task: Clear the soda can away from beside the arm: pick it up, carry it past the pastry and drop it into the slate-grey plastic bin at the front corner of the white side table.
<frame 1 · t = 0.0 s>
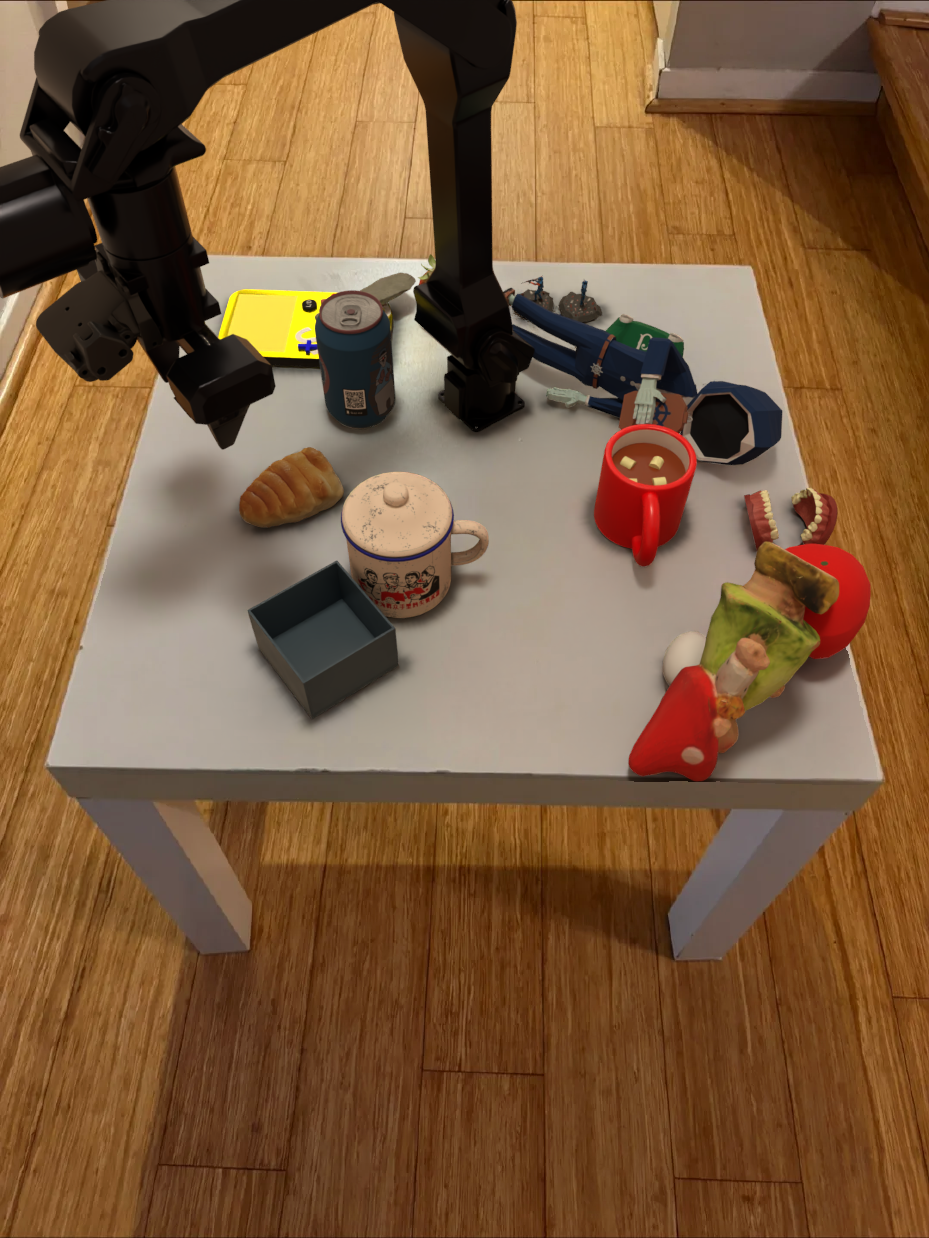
hand: (198, 412, 77), 15 cm above the table, tool pointing down, fingers open, 9 cm apart
pastry: (296, 501, 91), on the table
soda can: (361, 411, 98), on the table
teacup with lid: (418, 580, 86), on the table
mug: (638, 534, 89), on the table
dentures: (740, 514, 88), point 2 cm above the table
figurine: (816, 561, 71), point 13 cm above the table, touching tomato
stone: (374, 307, 102), point 3 cm above the table, touching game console
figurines: (556, 308, 107), on the table
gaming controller: (636, 368, 102), on the table
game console: (308, 334, 104), on the table, touching stone
figurine 2: (496, 307, 97), point 7 cm above the table
egg: (682, 675, 81), on the table
fruit: (444, 324, 105), on the table
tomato: (815, 558, 77), point 8 cm above the table, touching figurine
bin: (328, 656, 81), on the table
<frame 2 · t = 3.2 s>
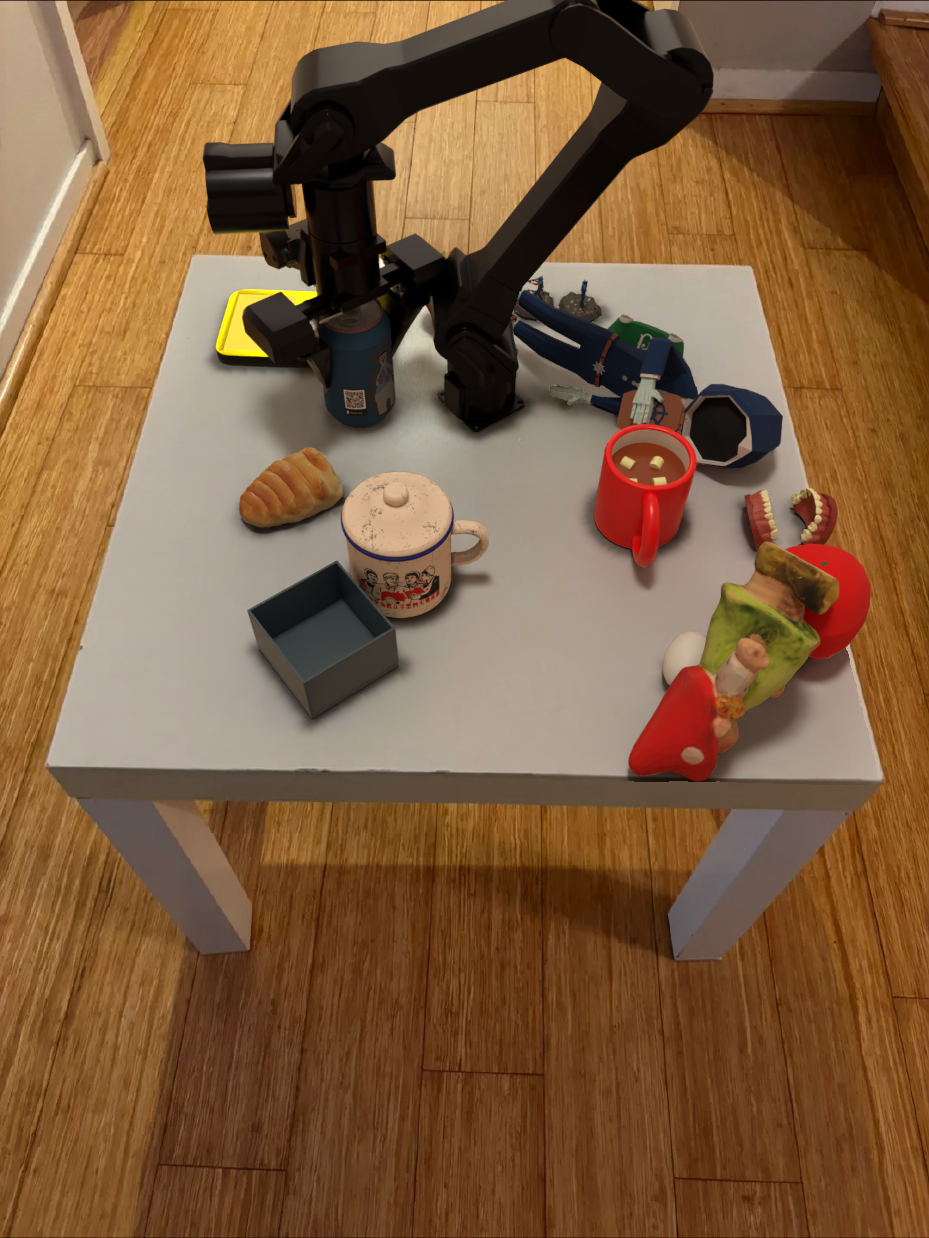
hand: (357, 370, 94), 5 cm above the table, tool pointing down, fingers closed on soda can, 7 cm apart
soda can: (361, 411, 98), on the table, touching gripper
figurine 2: (502, 302, 97), point 7 cm above the table, touching arm
everything else where it was.
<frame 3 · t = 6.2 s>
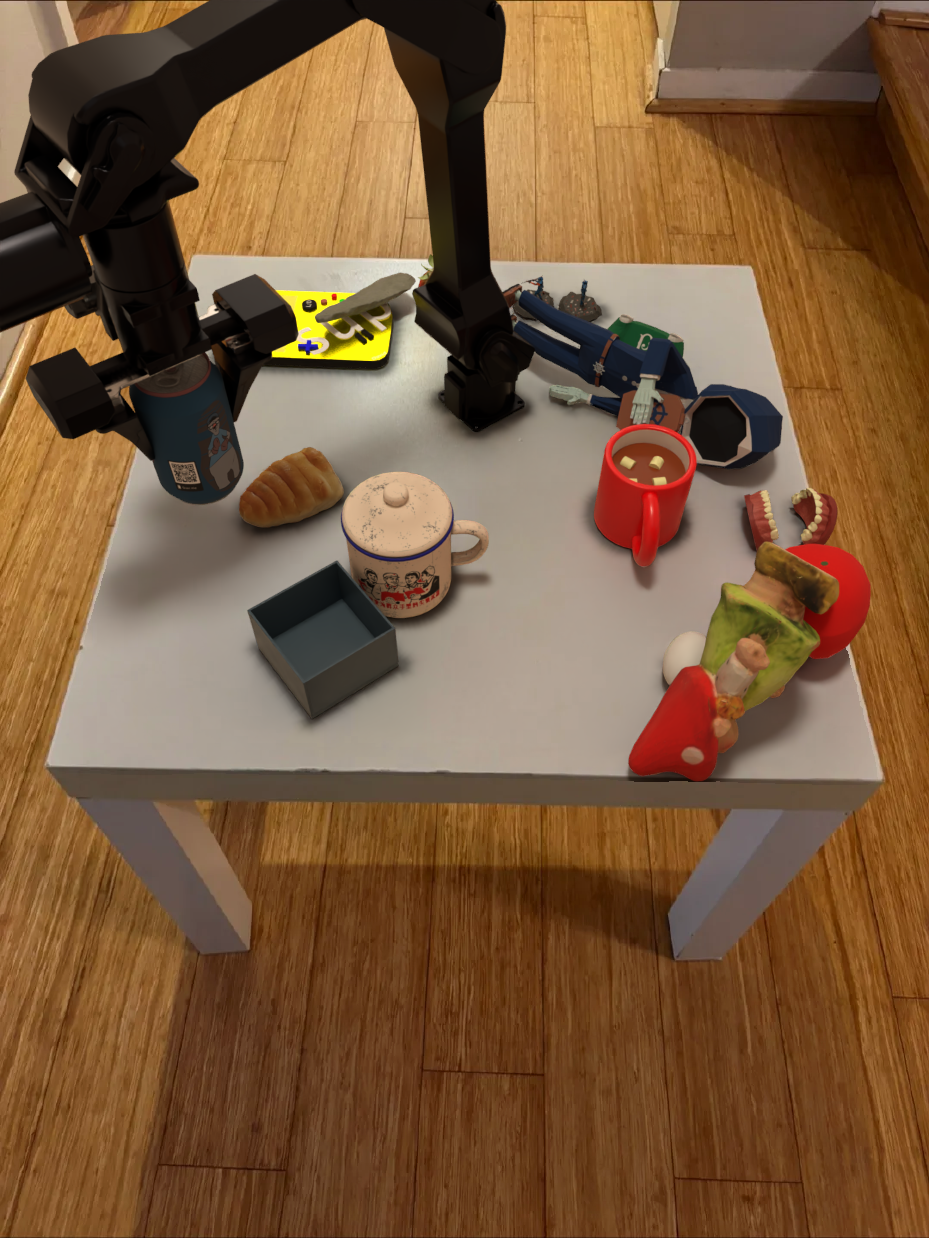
hand: (192, 437, 77), 13 cm above the table, tool pointing down, fingers closed on soda can, 7 cm apart
soda can: (205, 481, 82), point 8 cm above the table, touching gripper
figurine 2: (502, 302, 97), point 7 cm above the table
everything else where it was.
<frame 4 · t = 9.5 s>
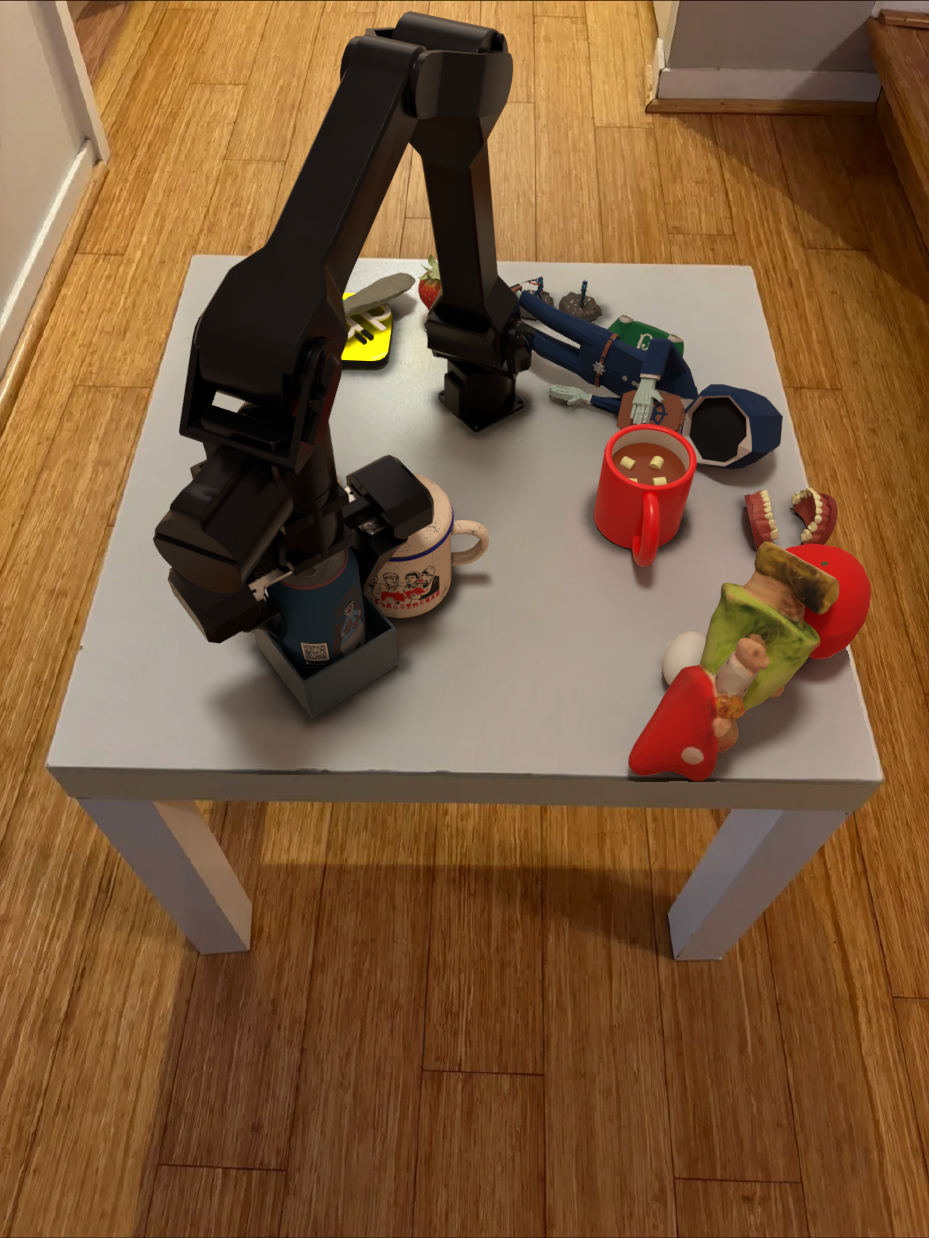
hand: (319, 611, 76), 6 cm above the table, tool pointing down, fingers closed on soda can, 7 cm apart
soda can: (326, 647, 80), point 1 cm above the table, touching gripper
everything else where it was.
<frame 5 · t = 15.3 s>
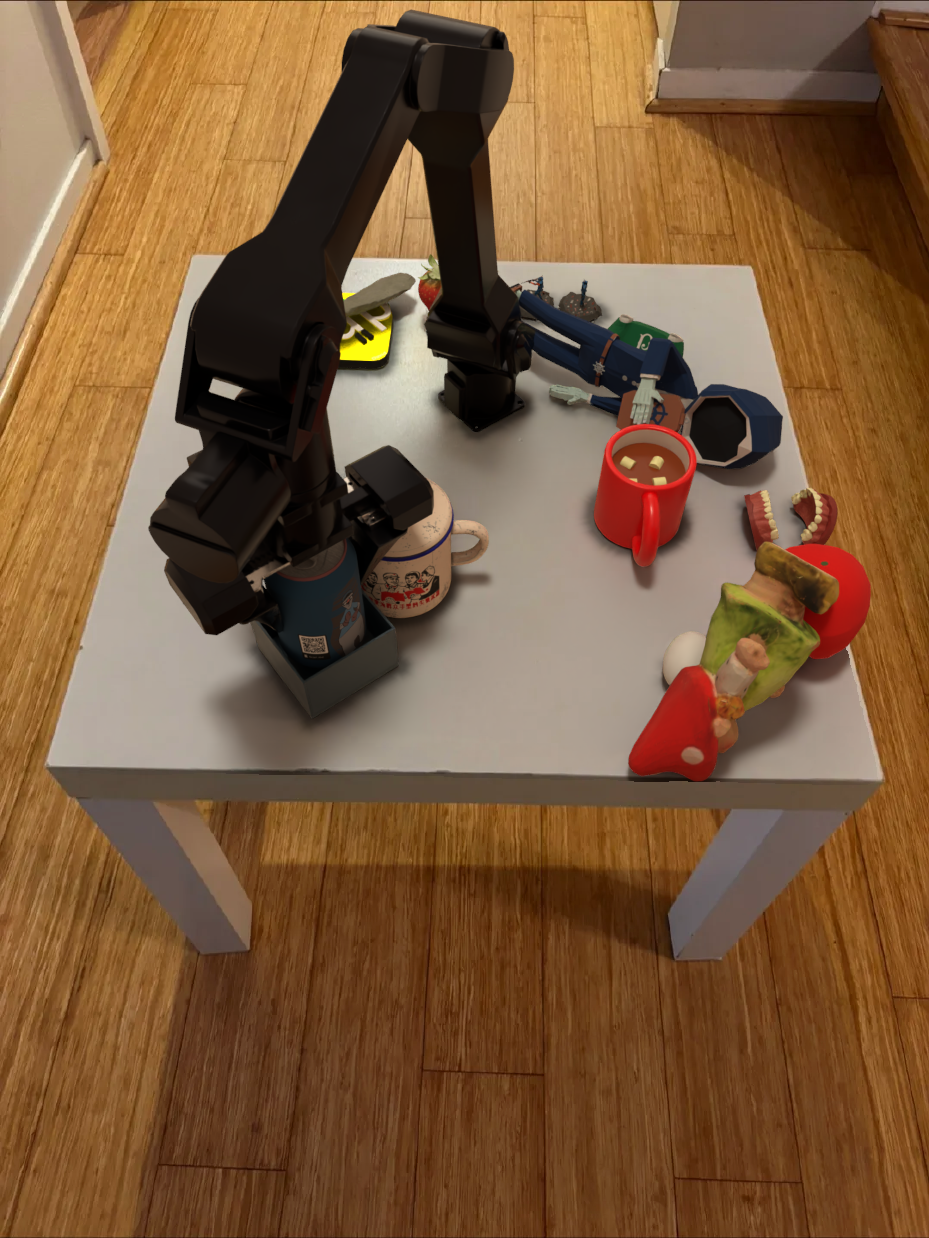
hand: (318, 604, 75), 7 cm above the table, tool pointing down, fingers closed on soda can, 7 cm apart
soda can: (325, 640, 79), point 2 cm above the table, touching gripper
everything else where it was.
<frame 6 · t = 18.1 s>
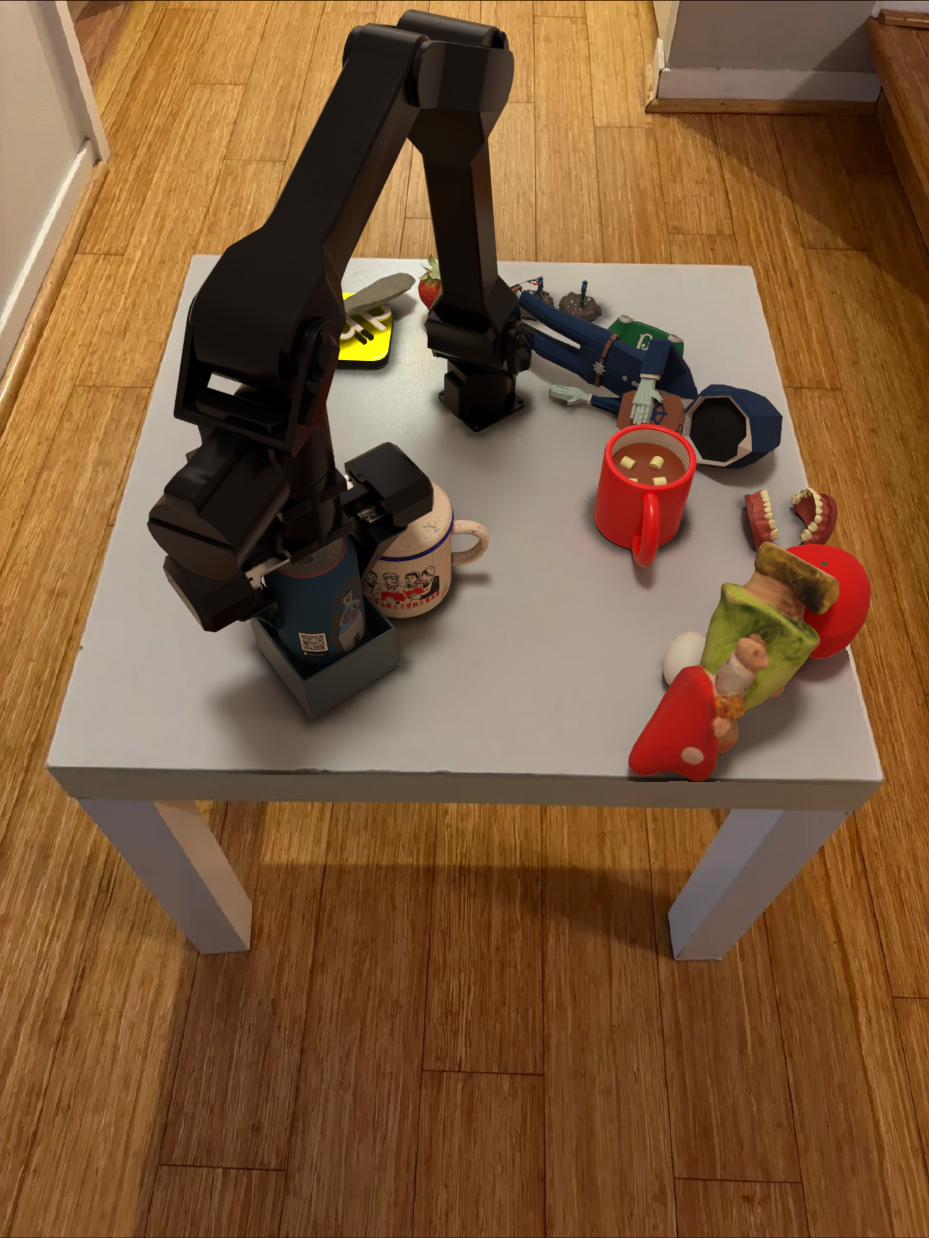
hand: (317, 601, 75), 8 cm above the table, tool pointing down, fingers closed on soda can, 7 cm apart
soda can: (324, 638, 79), point 3 cm above the table, touching gripper
everything else where it was.
when the fingers open (8 cm above the table, at t = 20.7 s): soda can drops 2 cm, resting on bin.
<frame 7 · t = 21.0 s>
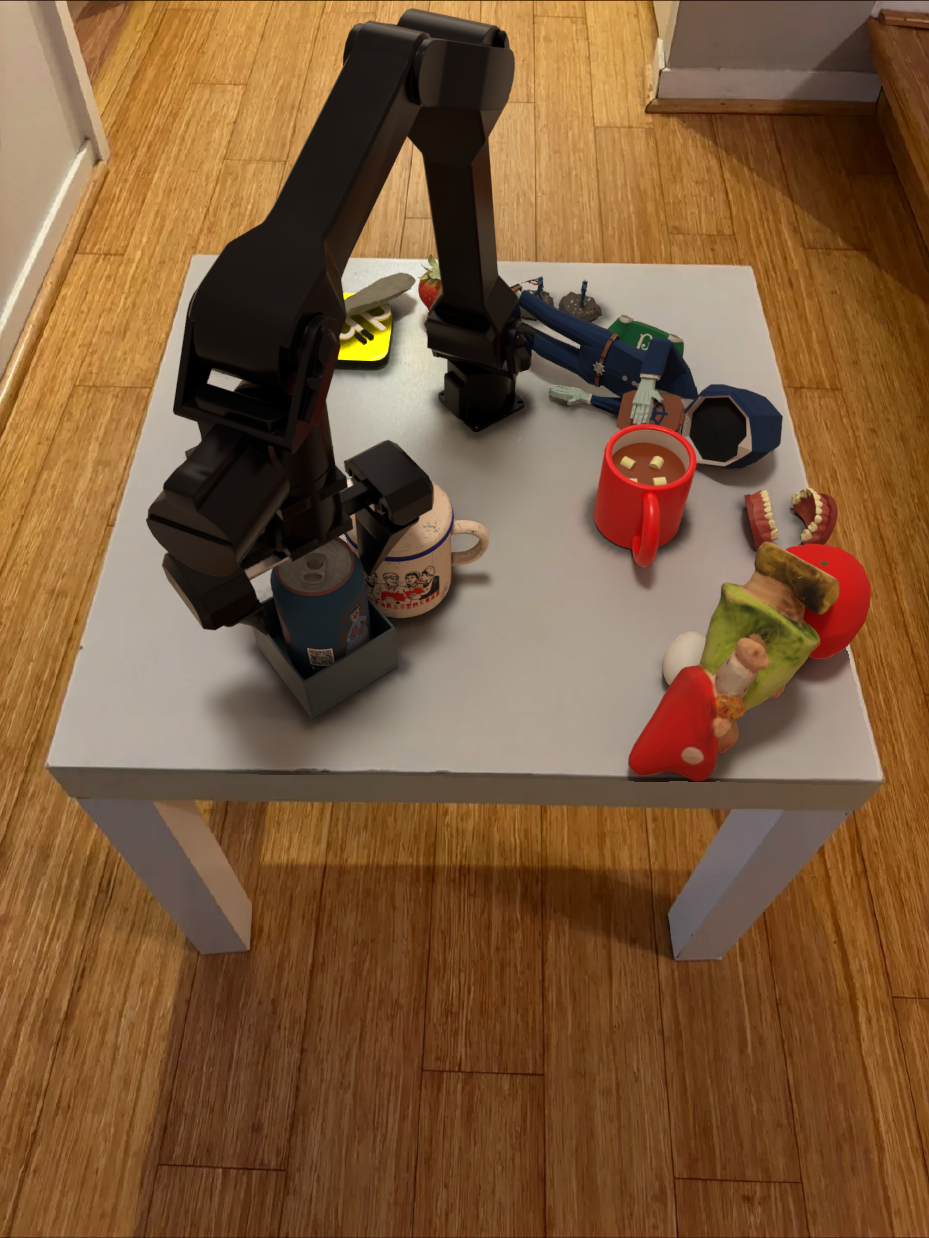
hand: (317, 600, 75), 8 cm above the table, tool pointing down, fingers open, 9 cm apart
soda can: (331, 652, 81), resting on bin
everything else where it was.
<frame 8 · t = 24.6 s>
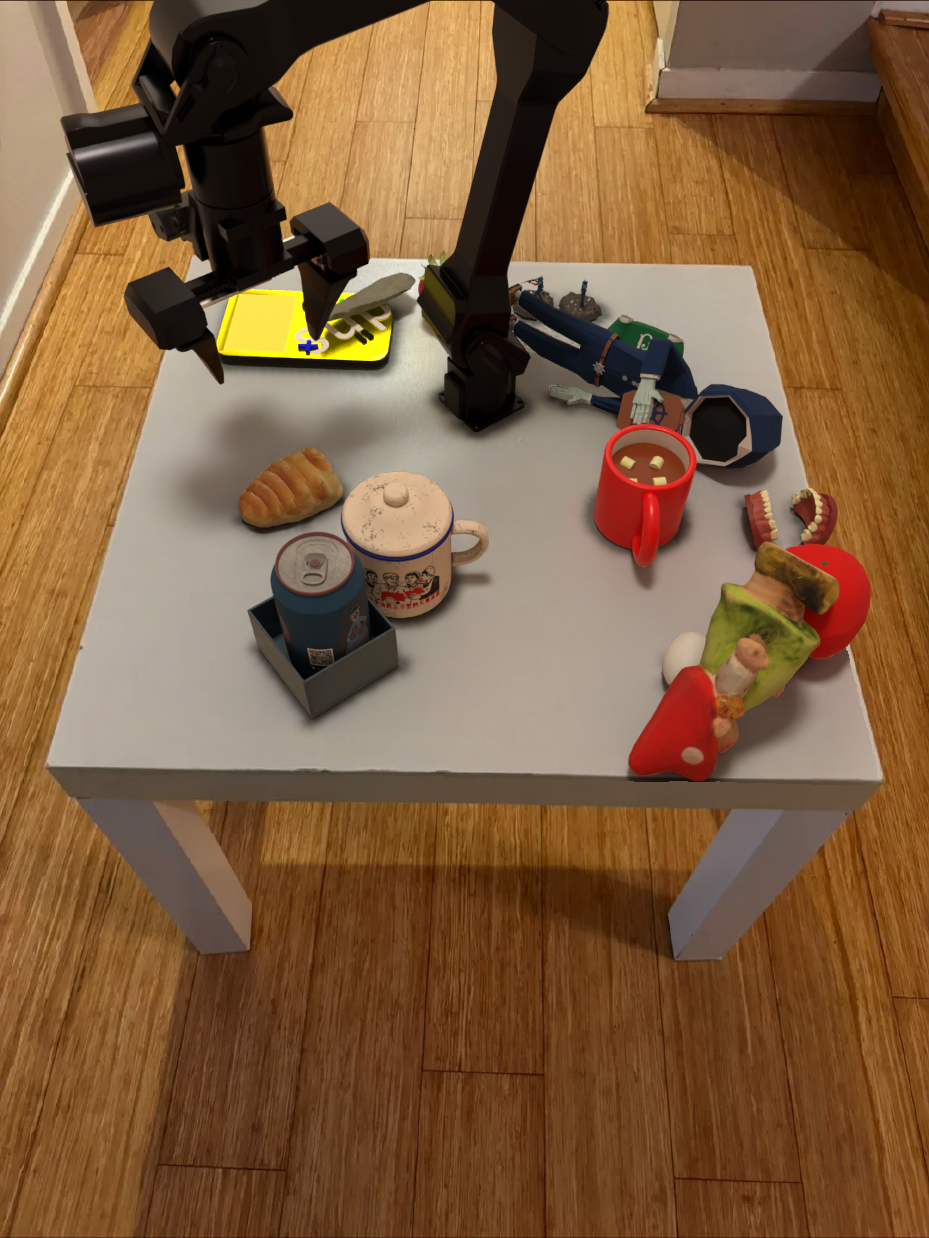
hand: (267, 359, 83), 13 cm above the table, tool pointing down, fingers open, 9 cm apart
nothing on the table moved.
at the end: soda can inside the target area in the bin (0.4 cm from its centre), point 0.3 cm above the bin's base; the gripper is holding nothing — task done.
